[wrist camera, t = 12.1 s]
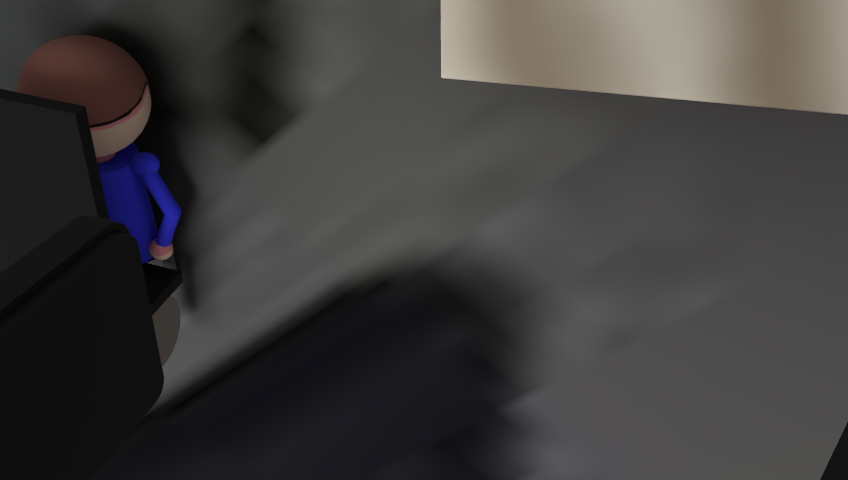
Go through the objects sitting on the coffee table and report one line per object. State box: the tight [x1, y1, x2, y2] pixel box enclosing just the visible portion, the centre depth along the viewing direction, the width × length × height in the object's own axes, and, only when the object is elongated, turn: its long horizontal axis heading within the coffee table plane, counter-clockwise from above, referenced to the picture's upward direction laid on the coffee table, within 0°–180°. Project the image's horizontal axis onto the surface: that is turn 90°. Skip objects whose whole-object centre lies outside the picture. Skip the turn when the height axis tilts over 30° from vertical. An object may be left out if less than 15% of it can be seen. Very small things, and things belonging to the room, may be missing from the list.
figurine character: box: [0, 35, 183, 366], centre depth 34 cm, size 7×8×15 cm
